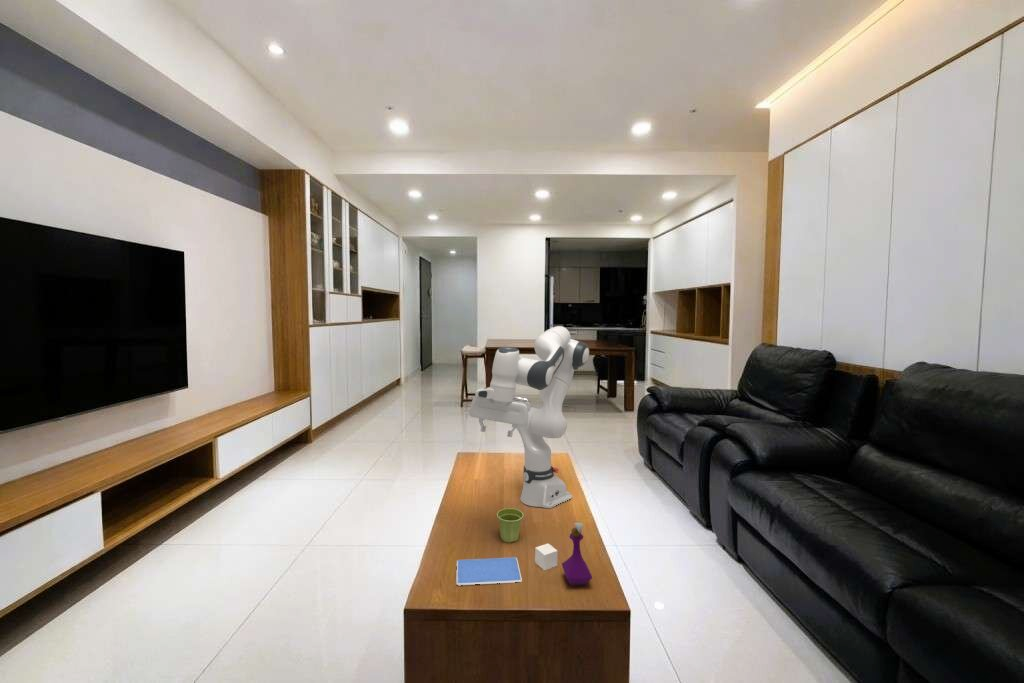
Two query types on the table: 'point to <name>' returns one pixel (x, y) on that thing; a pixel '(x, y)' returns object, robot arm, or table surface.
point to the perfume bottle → (576, 560)
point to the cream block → (546, 556)
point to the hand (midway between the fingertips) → (496, 433)
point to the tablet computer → (487, 571)
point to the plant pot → (509, 523)
